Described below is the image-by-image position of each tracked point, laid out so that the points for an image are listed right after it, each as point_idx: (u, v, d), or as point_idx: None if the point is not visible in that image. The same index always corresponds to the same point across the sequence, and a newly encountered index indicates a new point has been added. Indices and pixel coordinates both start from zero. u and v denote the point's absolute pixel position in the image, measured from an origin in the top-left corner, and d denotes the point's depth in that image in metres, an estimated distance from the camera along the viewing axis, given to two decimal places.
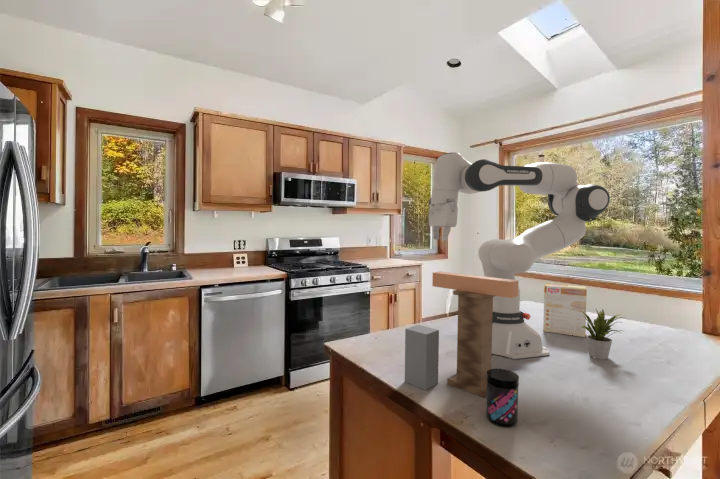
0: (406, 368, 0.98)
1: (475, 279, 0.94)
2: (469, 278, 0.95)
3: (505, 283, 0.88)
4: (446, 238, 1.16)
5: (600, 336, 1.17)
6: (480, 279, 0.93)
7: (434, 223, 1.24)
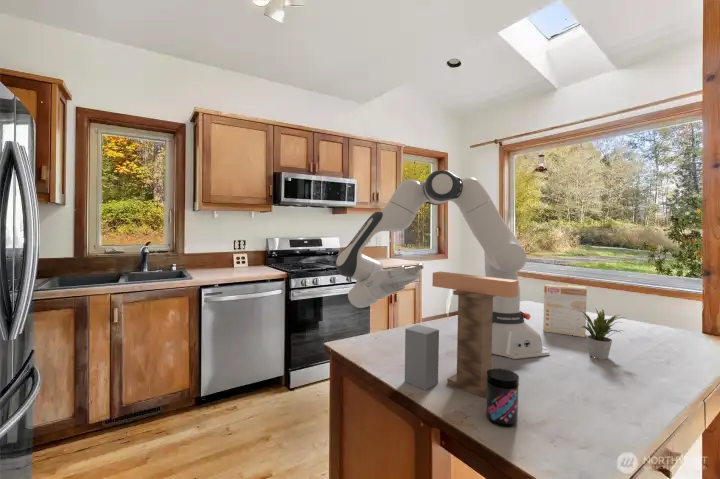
0: (406, 368, 0.98)
1: (475, 279, 0.94)
2: (469, 278, 0.95)
3: (505, 283, 0.88)
4: (399, 267, 1.07)
5: (600, 336, 1.17)
6: (480, 279, 0.93)
7: (407, 278, 1.15)
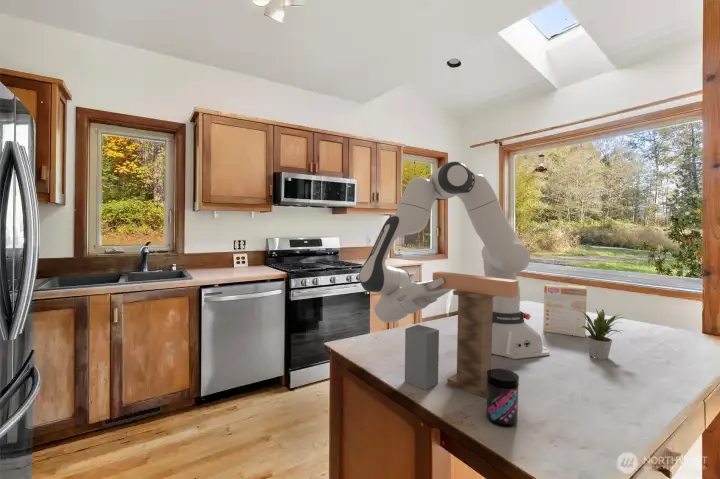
0: (406, 368, 0.98)
1: (475, 279, 0.94)
2: (469, 278, 0.95)
3: (505, 283, 0.88)
4: (439, 279, 1.00)
5: (600, 336, 1.17)
6: (480, 279, 0.93)
7: (441, 290, 1.06)
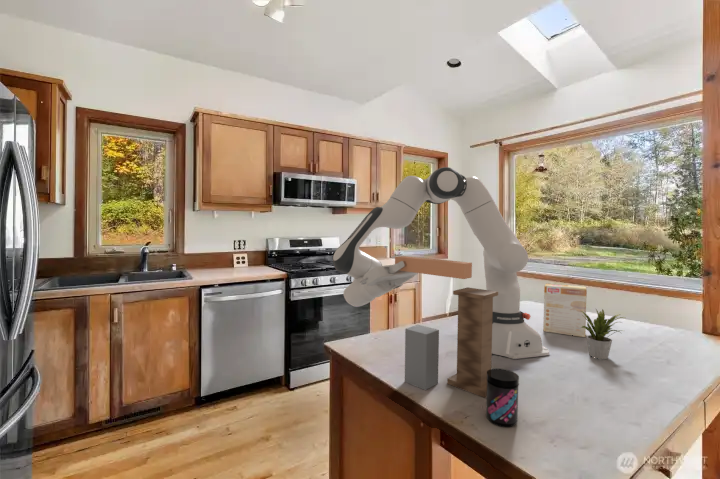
0: (406, 368, 0.98)
1: (432, 262, 0.97)
2: (427, 261, 0.98)
3: (458, 265, 0.92)
4: (400, 263, 1.03)
5: (600, 336, 1.17)
6: (436, 262, 0.96)
7: (404, 274, 1.10)
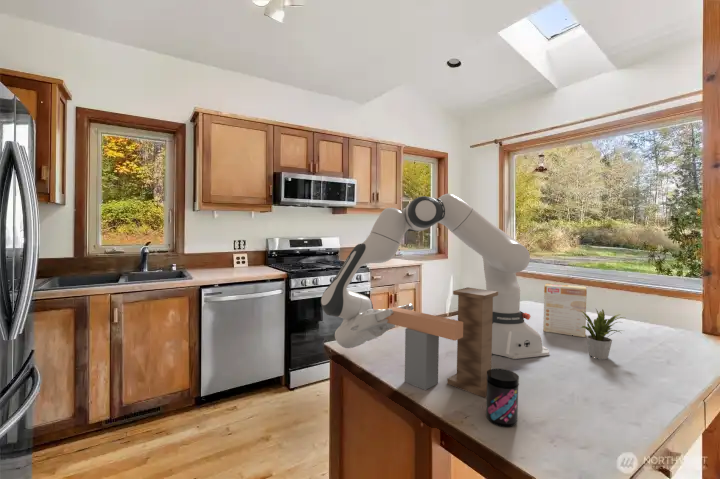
0: (406, 368, 0.98)
1: (423, 319, 0.95)
2: (417, 317, 0.96)
3: (449, 325, 0.89)
4: (387, 311, 0.99)
5: (600, 336, 1.17)
6: (427, 319, 0.94)
7: None
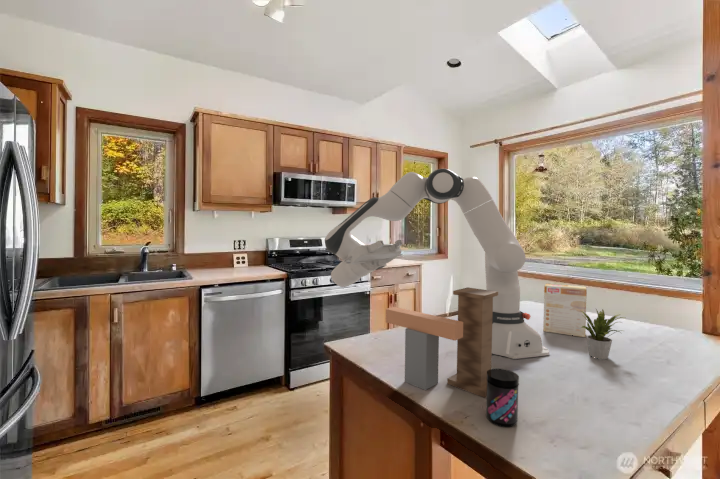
0: (406, 368, 0.98)
1: (423, 319, 0.95)
2: (417, 317, 0.96)
3: (449, 325, 0.89)
4: (377, 242, 1.09)
5: (600, 336, 1.17)
6: (427, 319, 0.94)
7: (387, 254, 1.16)
